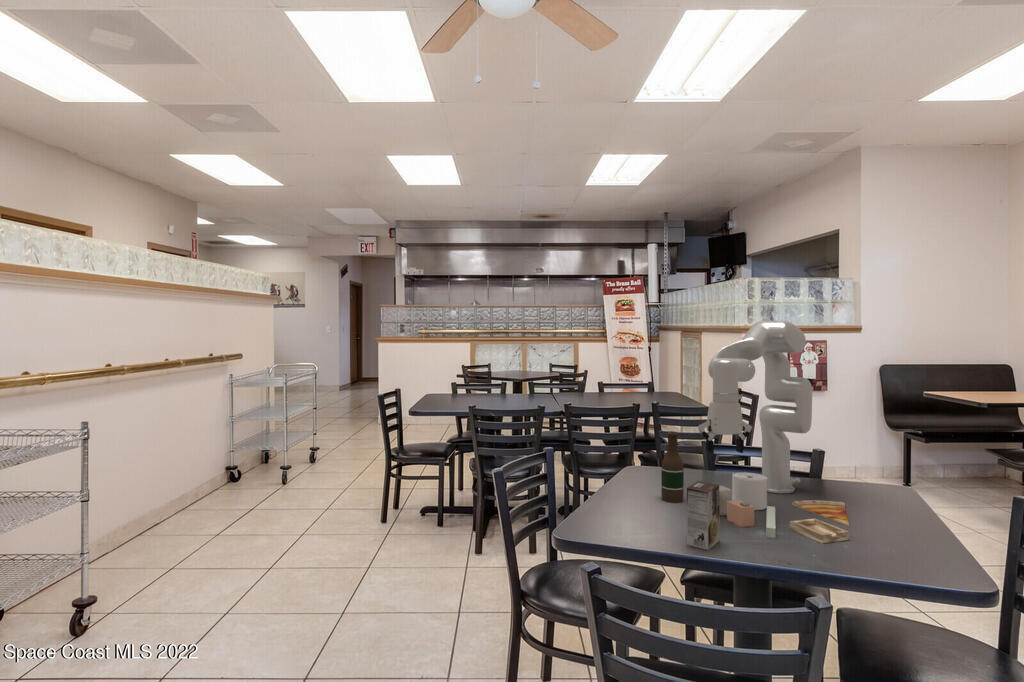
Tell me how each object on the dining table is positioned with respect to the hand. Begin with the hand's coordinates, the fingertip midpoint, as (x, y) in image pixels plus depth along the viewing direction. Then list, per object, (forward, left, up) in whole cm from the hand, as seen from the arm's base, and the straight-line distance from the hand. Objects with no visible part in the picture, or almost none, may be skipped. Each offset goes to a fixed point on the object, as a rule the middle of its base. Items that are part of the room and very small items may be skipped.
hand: (724, 452), depth 176 cm
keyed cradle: (-17, +20, -21) cm, 34 cm away
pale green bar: (-9, +10, -21) cm, 25 cm away
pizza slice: (-33, +4, -22) cm, 40 cm away
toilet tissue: (-16, -9, -21) cm, 28 cm away
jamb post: (-2, -5, -21) cm, 22 cm away
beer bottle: (+5, -22, -21) cm, 31 cm away
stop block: (-2, +5, -21) cm, 22 cm away
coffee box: (+19, +16, -21) cm, 33 cm away
